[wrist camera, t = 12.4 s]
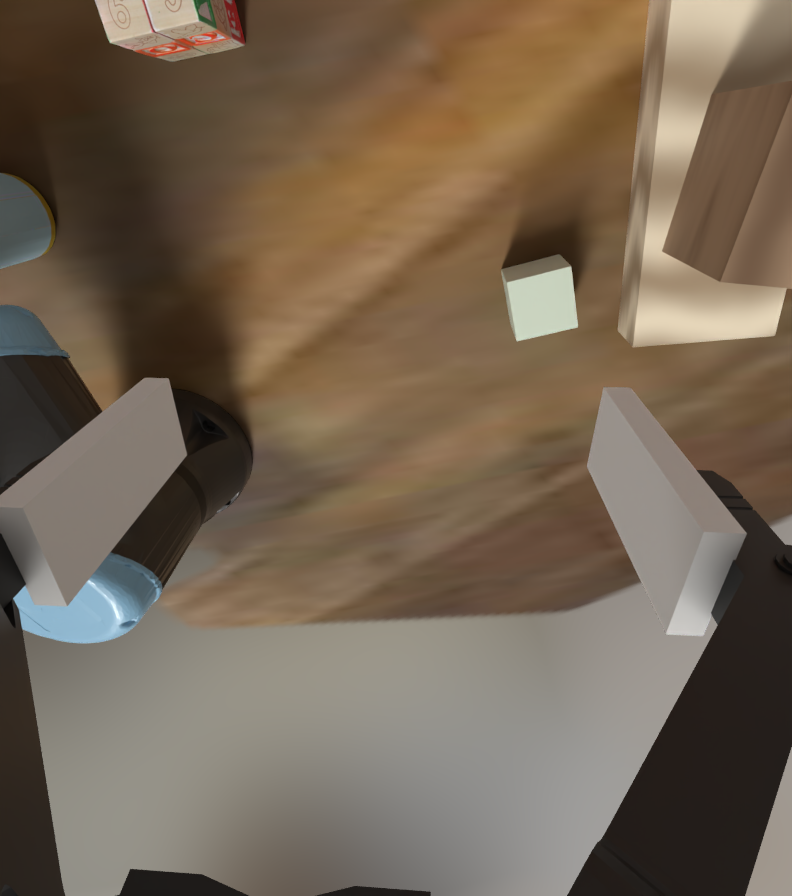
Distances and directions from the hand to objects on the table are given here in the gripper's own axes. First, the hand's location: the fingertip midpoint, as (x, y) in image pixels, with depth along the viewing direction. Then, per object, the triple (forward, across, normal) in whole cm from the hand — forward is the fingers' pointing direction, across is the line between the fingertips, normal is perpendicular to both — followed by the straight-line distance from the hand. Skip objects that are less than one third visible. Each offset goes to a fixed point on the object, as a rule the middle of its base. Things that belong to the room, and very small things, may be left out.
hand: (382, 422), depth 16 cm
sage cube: (+34, -11, +4) cm, 36 cm away
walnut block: (+29, -22, -5) cm, 37 cm away
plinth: (+34, -23, -5) cm, 41 cm away
